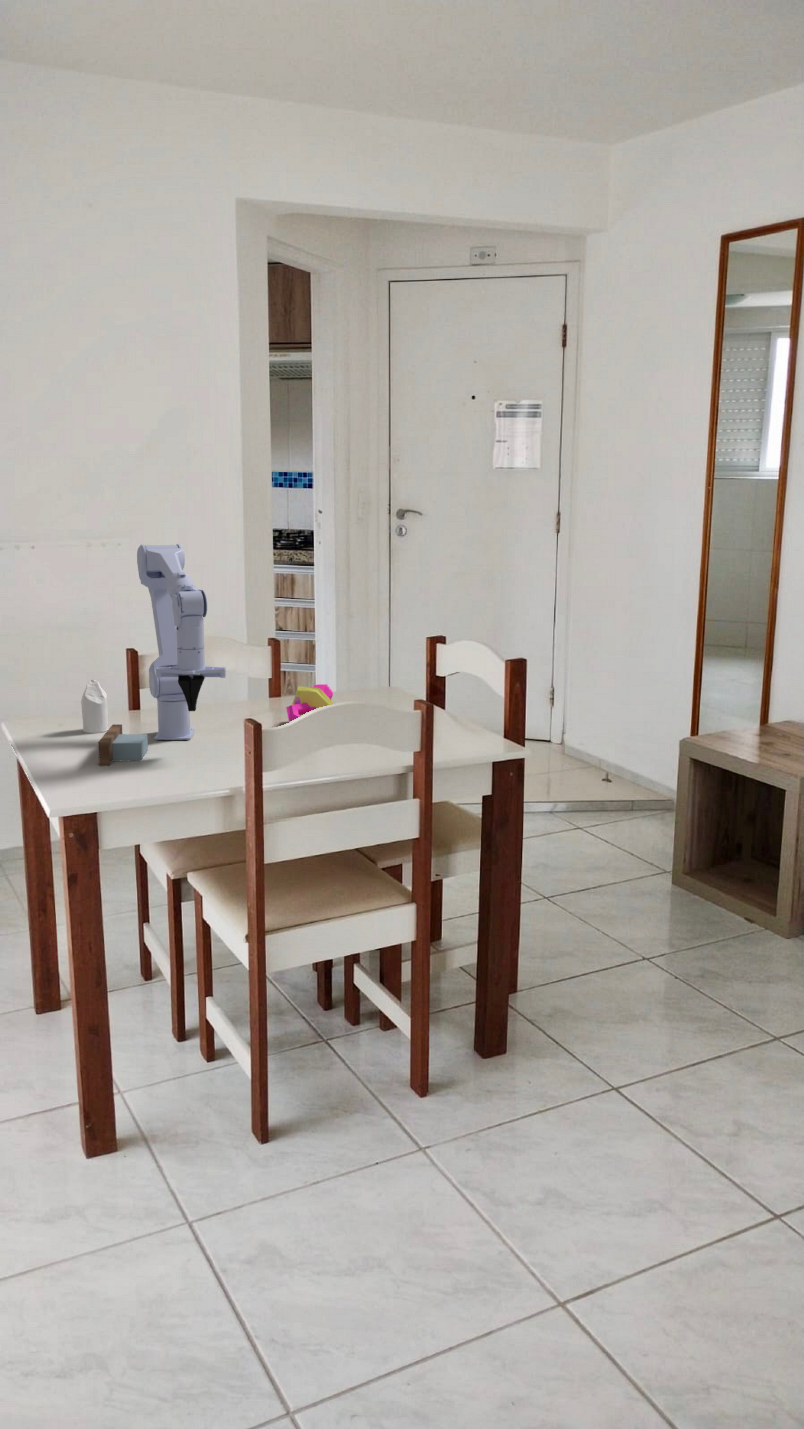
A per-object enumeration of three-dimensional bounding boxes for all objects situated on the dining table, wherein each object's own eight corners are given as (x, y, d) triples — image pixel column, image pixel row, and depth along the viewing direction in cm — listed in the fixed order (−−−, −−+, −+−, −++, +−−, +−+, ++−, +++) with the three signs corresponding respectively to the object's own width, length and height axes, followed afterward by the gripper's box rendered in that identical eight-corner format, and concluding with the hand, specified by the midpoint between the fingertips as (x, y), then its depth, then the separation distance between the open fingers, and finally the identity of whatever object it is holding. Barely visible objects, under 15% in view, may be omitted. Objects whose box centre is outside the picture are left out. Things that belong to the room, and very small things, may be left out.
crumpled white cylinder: (89, 683, 256) (74, 680, 259) (91, 734, 258) (77, 730, 262) (111, 679, 260) (97, 676, 264) (113, 730, 263) (99, 726, 266)
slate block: (120, 752, 244) (119, 734, 243) (148, 752, 244) (147, 734, 243) (112, 761, 236) (112, 743, 235) (141, 761, 237) (141, 743, 236)
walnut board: (113, 746, 248) (112, 724, 247) (122, 746, 248) (121, 724, 247) (99, 765, 232) (98, 742, 231) (109, 765, 232) (108, 742, 231)
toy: (273, 731, 268) (284, 697, 262) (302, 696, 283) (313, 663, 277) (310, 749, 267) (322, 716, 261) (338, 713, 282) (350, 681, 276)
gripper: (153, 650, 234) (155, 714, 237) (223, 650, 235) (224, 714, 238) (158, 645, 241) (160, 707, 244) (226, 645, 242) (227, 707, 245)
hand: (192, 710), depth 241 cm, fingers closed
